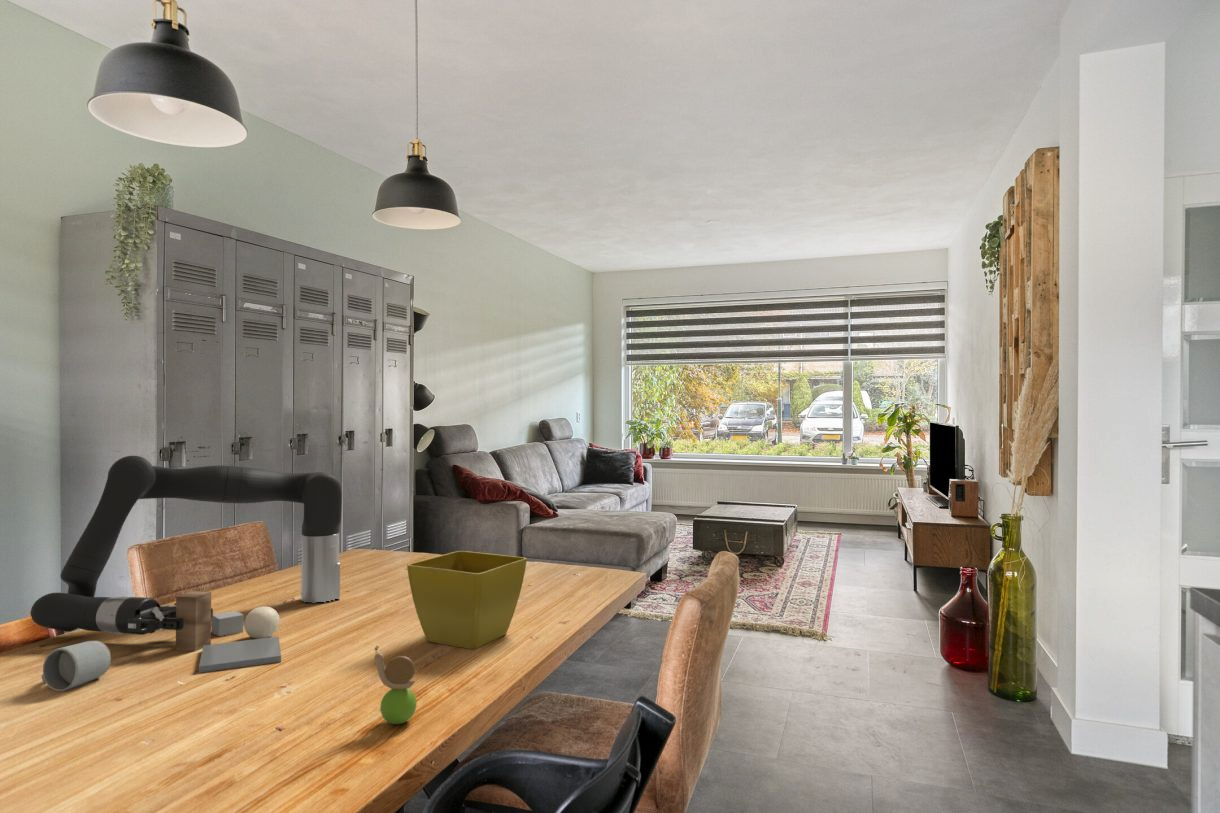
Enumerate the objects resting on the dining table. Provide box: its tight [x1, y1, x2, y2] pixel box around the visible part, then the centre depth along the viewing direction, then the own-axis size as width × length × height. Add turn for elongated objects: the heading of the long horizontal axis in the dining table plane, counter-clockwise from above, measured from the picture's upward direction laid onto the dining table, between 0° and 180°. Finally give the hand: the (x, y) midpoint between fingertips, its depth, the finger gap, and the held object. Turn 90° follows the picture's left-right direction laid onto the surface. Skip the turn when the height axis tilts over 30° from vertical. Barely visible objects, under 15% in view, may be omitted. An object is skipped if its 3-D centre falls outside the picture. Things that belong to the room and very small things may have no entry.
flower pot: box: [406, 550, 527, 650], centre depth 157 cm, size 19×19×17 cm
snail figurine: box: [374, 645, 417, 725], centre depth 113 cm, size 5×6×12 cm
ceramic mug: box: [41, 640, 112, 692], centre depth 130 cm, size 10×8×7 cm
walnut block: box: [175, 590, 212, 652], centre depth 150 cm, size 4×4×11 cm
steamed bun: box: [243, 606, 281, 639], centre depth 157 cm, size 7×7×7 cm
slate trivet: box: [198, 636, 282, 674], centre depth 145 cm, size 14×14×1 cm
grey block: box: [211, 610, 244, 637], centre depth 161 cm, size 5×5×4 cm
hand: (197, 618), depth 150 cm, fingers open, 8 cm apart
